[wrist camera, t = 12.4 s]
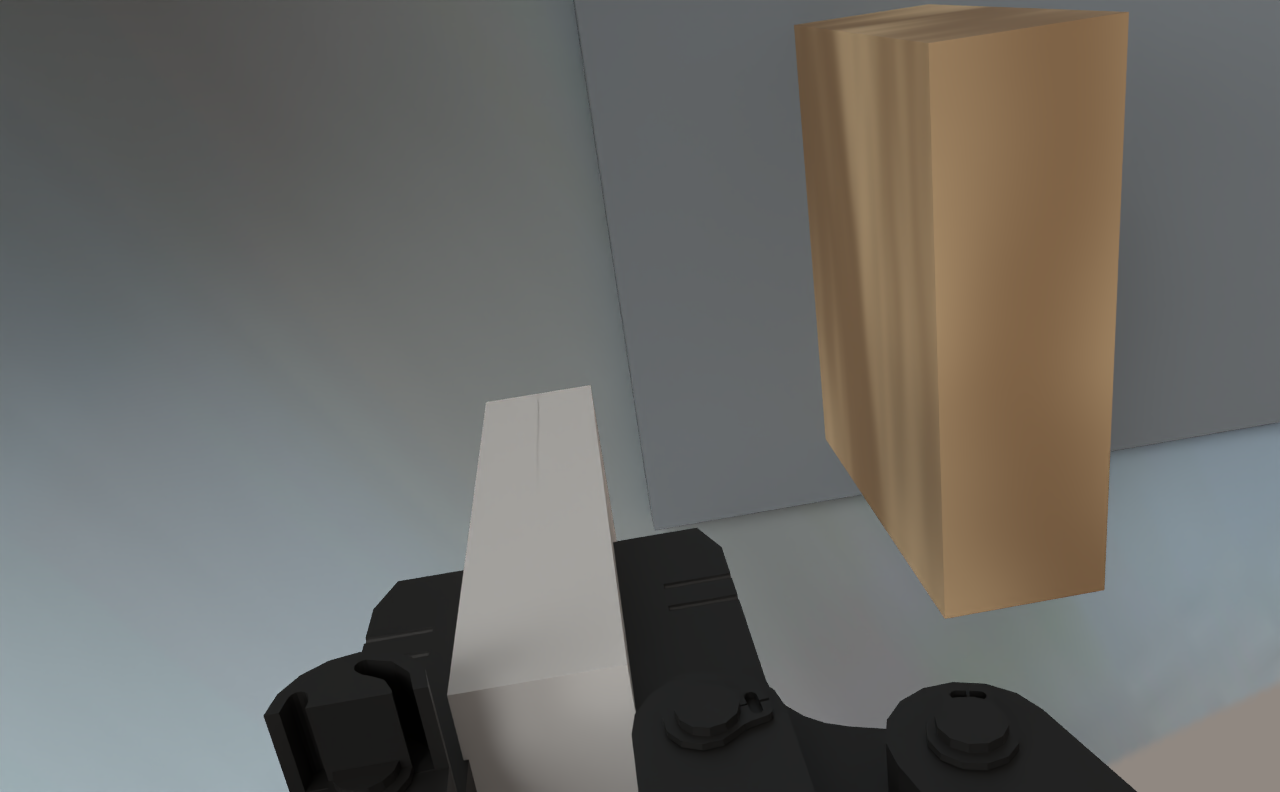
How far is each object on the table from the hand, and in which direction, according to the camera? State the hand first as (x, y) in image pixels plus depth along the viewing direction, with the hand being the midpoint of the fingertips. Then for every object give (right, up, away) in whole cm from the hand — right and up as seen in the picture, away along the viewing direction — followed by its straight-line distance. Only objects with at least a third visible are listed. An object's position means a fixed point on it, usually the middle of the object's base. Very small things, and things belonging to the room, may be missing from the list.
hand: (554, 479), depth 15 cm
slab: (+7, +5, +9) cm, 12 cm away
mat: (+10, +6, +10) cm, 16 cm away
